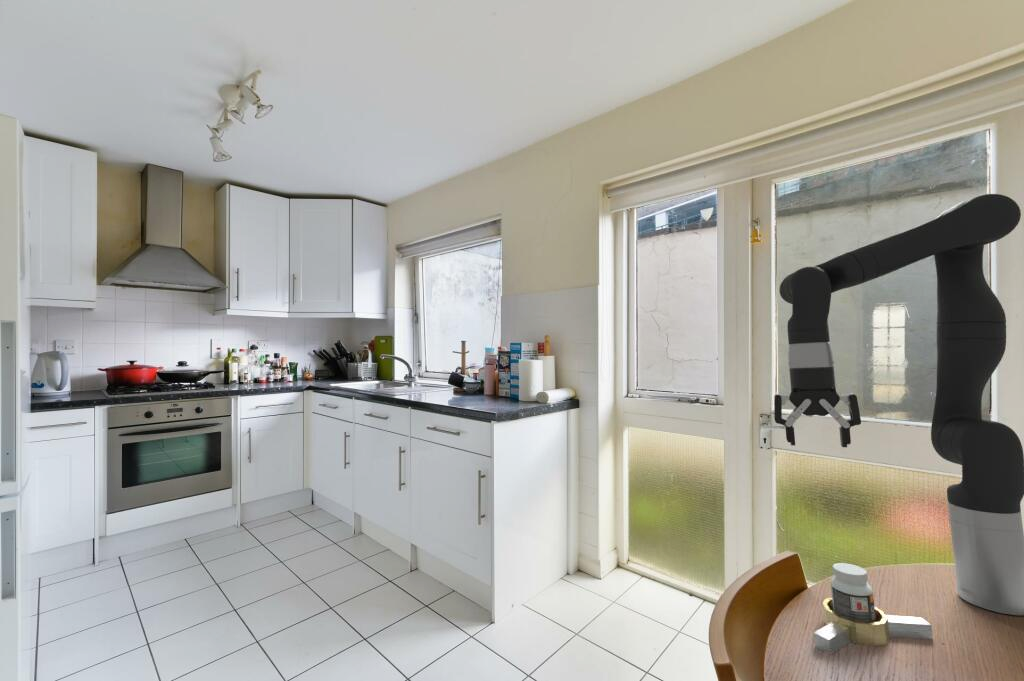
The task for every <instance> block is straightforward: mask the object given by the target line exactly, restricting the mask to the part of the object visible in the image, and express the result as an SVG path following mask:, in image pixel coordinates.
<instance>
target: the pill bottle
mask: <svg viewBox="0 0 1024 681" xmlns="http://www.w3.org/2000/svg"><path fill="white" fill-rule="evenodd" d="M832 574H833V575H834V576H833V578H832V579H831V580H830V591H831V598H832V603H833V612H835V613H837V614H838V615H840V616H842V617H845V618H848V619H851V620H854V621H859V622H866V623H873V622H876V616H875V607H876V606H875V598H874V592H873V588H872V586H871V585H870V584H869V583H868V580H869V576H868V572H867V570H866V569H865V568H864V567H863V568H862V567H861V566H859V565H855V564H852V563H846V562H838V563H834V564H833V565H832Z"/></svg>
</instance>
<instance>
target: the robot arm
mask: <svg viewBox="0 0 1024 681" xmlns="http://www.w3.org/2000/svg"><path fill="white" fill-rule="evenodd" d="M1021 215H1022V213H1021V209H1020V205H1019V204H1018V203H1017V202H1016V201H1015V200H1014V199H1013V198H1011V197H1009V196H1007V195H1005V194H999V193H987V194H986V193H985V194H981V195H980V194H979V195H976V196H973V197H970V198H968V199H965V200H963V201H962V202H960V203H958V204H955V205H953V206H951V207H950V208H947V209H946V210H944V211H942V212H941V213H940V214H939V215H938V216H937V217H936V218H934V219H932V220H930V221H928V222H925V223H923V224H920V225H917V226H915V227H912V228H910V229H908V230H907V229H906V230H905V231H902V232H899V233H896V234H892V235H891V236H888V237H885V238H882V239H879V240H875V241H873V242H870V243H867V244H865V245H862V246H859V247H857V248H854V249H851V250H848V251H846V252H843V253H841V254H838V255H836V256H835V257H833V258H830V259H829V260H827V261H825V262H823V263H819V264H817V265H814V266H813V265H811V266H804V267H801V268H800V269H797V270H796V271H794V272H792V273H790V274H789V275H786V276H785V277H784V279H783V280H782V281H781V283H780V286H779V295H780V297H781V299H782V300H783V301H785V302H786V303H788V304H790V305H791V306H792V309H791V310H792V313H791V314H792V315H791V316H790V318H789V319H788V320H787V338H788V355H787V357H788V366H789V369H788V370H789V378H790V380H789V381H790V394H789V395H788V394H778V393H776V394H775V395H774V397H773V399H774V400H773V403H774V407H773V408H774V409H773V410H774V411H773V412H774V415H773V416H774V422H775V423H776V424H779V425H783V426H784V427H785V436H786V437H785V438H786V441H787V443H790V446H796V436H795V435H796V434H795V427H794V424H795V423H796V421H797V420H799V418H800V417H801V416H802V415H804V416H807V417H808V416H809V417H812V416H820V417H826V416H828V415H830V416H831V417H832V418H833V419H834V420H835V421H836V422H837V423H838V425H839V426H840V427H838V428H839V437H840V439H839V440H840V446H841V447H842V448H848V446H849V445H851V442H852V440H851V439H852V438H851V428H852V427H854V426H860V425H861V424H862V420H861V414H860V407H859V403H858V397H857V395H856V394H854V393H848V394H838V392H837V388H836V378H835V375H836V374H835V368H834V367H835V366H834V364H835V360H834V356H833V349H832V347H831V340H830V330H829V329H830V328H829V322H828V321H829V314H830V309H831V301H832V300H831V299H832V294H833V293H836V292H838V291H840V290H844V289H848V288H849V289H850V288H853V287H856V286H860V285H862V284H865V283H867V282H869V281H872V280H875V279H877V278H878V279H879V278H880V277H883V276H886V275H889V274H891V273H892V272H895V271H898V270H900V269H903V268H905V267H907V266H909V265H912V264H915V263H917V262H919V261H922V260H924V259H927V258H930V257H931V256H933V258H934V264H935V271H936V308H937V310H936V311H937V313H936V354H937V357H936V358H937V359H936V363H937V364H936V390H935V391H936V392H935V400H934V407H933V412H932V420H931V428H930V440H931V444H932V447H933V449H934V451H935V453H936V454H938V456H939V457H941V458H942V459H943V460H945V461H947V462H950V463H953V464H957V465H961V472H962V473H961V474H962V475H961V476H962V477H961V481H960V482H959V483H955V484H951V485H949V486H947V488H946V497H947V498H946V499H947V507H948V515H949V523H950V524H949V526H950V534H951V535H950V536H951V543H952V552H953V561H954V562H953V563H954V572H955V579H956V589H957V596H959V597H960V598H961V599H962V600H964V601H965V602H967V603H969V604H971V605H974V606H976V607H978V608H981V609H985V610H988V611H992V612H995V613H999V614H1004V615H1005V614H1006V615H1011V616H1024V526H1023V520H1022V519H1023V517H1022V511H1021V510H1022V509H1021V508H1022V507H1021V502H1022V500H1023V498H1024V449H1023V446H1022V442H1021V440H1020V438H1019V436H1018V434H1017V433H1016V432H1015V431H1014V430H1013V429H1012V428H1011V427H1010V426H1008V425H1006V424H1004V423H1001V422H999V421H994V420H988V419H983V416H982V408H983V407H982V400H983V394H984V389H985V388H986V385H988V384H987V383H988V381H989V380H990V378H991V377H992V375H993V373H994V372H995V371H996V370H997V368H998V366H999V365H1000V363H1001V361H1002V359H1003V357H1004V355H1005V352H1006V347H1007V319H1006V318H1007V317H1006V313H1005V310H1004V308H1003V305H1002V304H1001V301H1000V300H999V299H998V297H997V296H996V294H995V292H994V291H993V290H992V289H991V287H990V286H989V284H988V282H987V279H986V278H985V274H984V268H983V267H984V258H983V257H984V256H983V255H984V248H985V246H986V245H989V244H992V243H994V242H996V241H999V240H1001V239H1003V238H1005V237H1007V236H1008V235H1009V234H1011V233H1012V232H1013V231H1014V230H1015V229H1016V227H1017V226H1018V225H1019V223H1020V221H1021ZM787 401H790V403H791V404H792V405H793V406H794V407H795V408H794V409H793V410H792V411H791V413H790V414H789V415H788V416H787V418H783V416H782V414H783V413H782V410H783V408H782V406H785V405H786V404H787ZM840 401H842V402H843V404H844V405H846V406H848V413H849V416H850V418H847V419H845V417H843V416H842V415H841V414H840V413H839V412H838V411H837V410H836V409H835V407H836V406H837V405H838V404H839V403H840Z"/></svg>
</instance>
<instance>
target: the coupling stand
mask: <svg viewBox="0 0 1024 681" xmlns="http://www.w3.org/2000/svg"><path fill="white" fill-rule="evenodd" d="M874 607H875V616H876V622H873V623H866V622H859V621H854V620H851V619H848V618H845V617H842V616H840V615H838V614H837V613H835V612H833V603H832V597H827V598H825V599H824V600H823V602H822V613H823V615H822V617H823V623H824V626H822V627H821V628H819V629H817V630H815V631H814V632H813V638H814V639H813V640H814V647H815V648H816V649H818V650H820V651H822V652H824V651H825V652H824V653H826V652H827V653H826V654H828V653H829V654H828V655H830V654H831V653H833V652H834V653H836V652H837V651H838V649H839V650H840V649H842V648H844V647H845V646H846V645H848V644H849V643H851V642H852V643H854V644H857V645H863V644H864V645H863V646H869V647H878V646H880V647H881V646H885V645H887V644H888V643H889V642H890V639H891V637H895V638H896V637H898V638H911V639H923V640H924V639H925V640H933V639H934V638H933V630H932V624H930V623H929V622H928V621H927V620H926V619H924V618H923V617H921V616H917V617H916V616H908V615H907V616H905V615H891V614H885V613H884V611H883V610H882V609H879V608H878V607H876V606H874ZM835 651H836V652H835ZM834 653H833V654H834ZM831 655H832V654H831Z"/></svg>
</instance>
